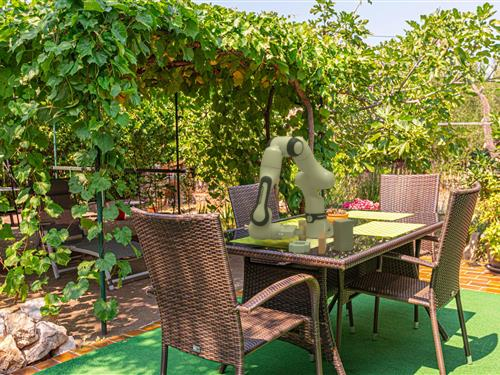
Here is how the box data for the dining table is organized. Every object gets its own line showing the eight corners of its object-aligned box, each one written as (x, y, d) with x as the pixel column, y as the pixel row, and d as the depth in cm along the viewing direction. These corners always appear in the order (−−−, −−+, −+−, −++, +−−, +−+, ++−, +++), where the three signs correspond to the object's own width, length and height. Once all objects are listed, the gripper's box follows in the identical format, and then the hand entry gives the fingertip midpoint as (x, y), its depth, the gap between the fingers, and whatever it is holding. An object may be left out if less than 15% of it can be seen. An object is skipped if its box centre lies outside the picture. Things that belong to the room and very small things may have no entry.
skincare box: (346, 248, 262) (346, 218, 261) (354, 251, 256) (354, 219, 255) (332, 250, 259) (332, 219, 258) (340, 252, 253) (339, 221, 251)
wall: (318, 254, 249) (318, 238, 249) (320, 247, 267) (320, 232, 266) (324, 254, 249) (324, 238, 248) (326, 247, 266) (326, 232, 266)
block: (288, 252, 254) (288, 245, 254) (291, 247, 268) (291, 240, 268) (308, 252, 252) (308, 246, 252) (310, 247, 266) (310, 240, 266)
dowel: (301, 245, 273) (301, 219, 272) (307, 246, 271) (307, 220, 270) (297, 246, 270) (296, 220, 269) (303, 247, 268) (303, 221, 267)
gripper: (275, 228, 262) (302, 228, 259) (280, 222, 282) (305, 222, 279) (275, 240, 262) (302, 241, 260) (280, 234, 282) (305, 234, 280)
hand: (304, 231), depth 270 cm, fingers closed on dowel, 4 cm apart
